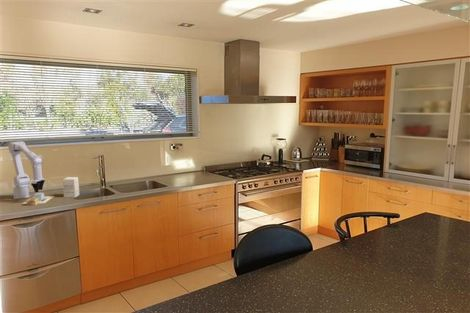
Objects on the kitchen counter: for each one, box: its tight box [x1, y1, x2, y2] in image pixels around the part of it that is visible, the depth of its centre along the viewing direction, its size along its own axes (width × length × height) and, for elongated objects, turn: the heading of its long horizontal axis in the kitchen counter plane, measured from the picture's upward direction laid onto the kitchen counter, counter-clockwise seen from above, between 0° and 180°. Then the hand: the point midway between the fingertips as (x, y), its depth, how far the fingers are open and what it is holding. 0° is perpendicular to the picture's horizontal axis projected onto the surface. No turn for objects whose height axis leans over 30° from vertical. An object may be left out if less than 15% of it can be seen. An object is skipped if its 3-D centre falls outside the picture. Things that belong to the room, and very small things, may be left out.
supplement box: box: [62, 176, 80, 198], centre depth 265 cm, size 9×9×15 cm
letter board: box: [22, 195, 55, 205], centre depth 254 cm, size 15×21×1 cm
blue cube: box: [33, 192, 45, 201], centre depth 252 cm, size 5×5×5 cm
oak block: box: [25, 197, 40, 206], centre depth 241 cm, size 6×5×4 cm
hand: (38, 190), depth 252 cm, fingers open, 7 cm apart
